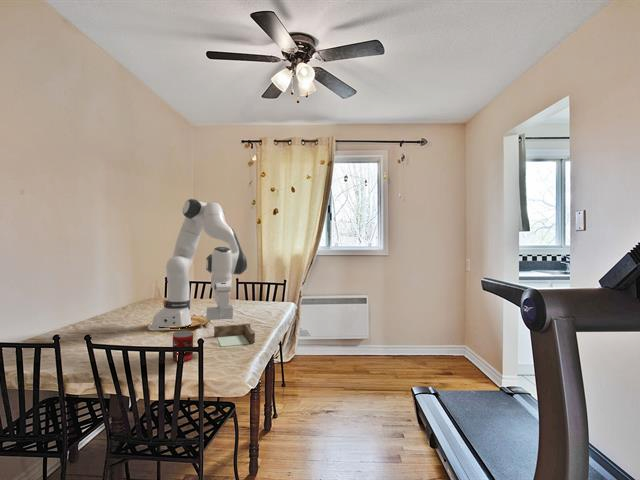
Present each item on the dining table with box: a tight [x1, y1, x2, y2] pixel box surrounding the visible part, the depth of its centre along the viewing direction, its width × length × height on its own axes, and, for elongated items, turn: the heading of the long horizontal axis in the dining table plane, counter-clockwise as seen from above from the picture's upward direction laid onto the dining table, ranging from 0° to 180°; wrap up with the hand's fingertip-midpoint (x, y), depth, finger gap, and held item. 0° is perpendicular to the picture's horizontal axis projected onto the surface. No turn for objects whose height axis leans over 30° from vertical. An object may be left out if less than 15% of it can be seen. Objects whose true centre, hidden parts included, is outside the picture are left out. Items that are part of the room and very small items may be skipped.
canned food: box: [172, 330, 194, 363], centre depth 151 cm, size 8×8×11 cm
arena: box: [213, 323, 256, 345], centre depth 179 cm, size 18×18×5 cm
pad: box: [216, 334, 250, 348], centre depth 177 cm, size 13×14×1 cm
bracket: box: [205, 304, 234, 321], centre depth 163 cm, size 11×7×5 cm, turn 112°
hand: (220, 314), depth 161 cm, fingers closed on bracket, 3 cm apart
